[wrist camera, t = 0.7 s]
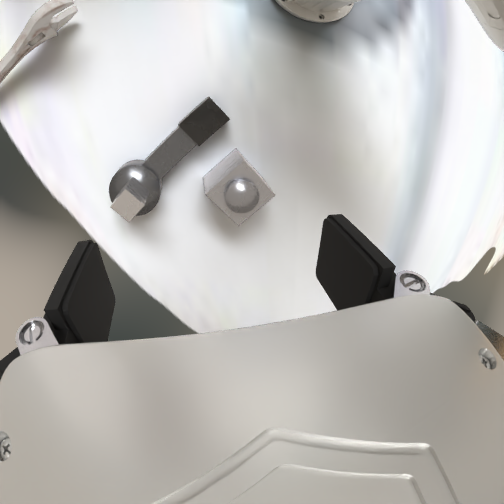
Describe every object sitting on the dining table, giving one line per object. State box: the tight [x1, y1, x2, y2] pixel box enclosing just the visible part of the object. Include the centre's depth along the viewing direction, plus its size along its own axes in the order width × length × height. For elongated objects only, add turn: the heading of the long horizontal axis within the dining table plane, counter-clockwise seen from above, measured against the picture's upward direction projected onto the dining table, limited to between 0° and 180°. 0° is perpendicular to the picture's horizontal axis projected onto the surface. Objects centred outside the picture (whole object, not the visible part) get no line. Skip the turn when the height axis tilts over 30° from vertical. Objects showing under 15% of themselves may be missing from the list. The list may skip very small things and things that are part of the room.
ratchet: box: [109, 97, 230, 222], centre depth 31 cm, size 18×7×8 cm, turn 130°
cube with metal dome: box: [203, 149, 275, 226], centre depth 35 cm, size 6×6×8 cm
